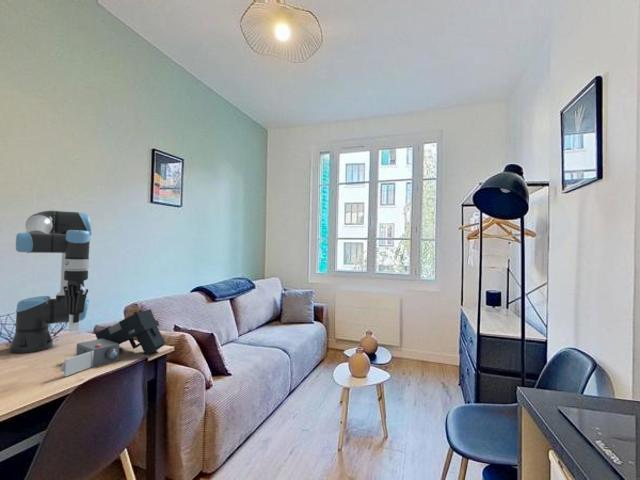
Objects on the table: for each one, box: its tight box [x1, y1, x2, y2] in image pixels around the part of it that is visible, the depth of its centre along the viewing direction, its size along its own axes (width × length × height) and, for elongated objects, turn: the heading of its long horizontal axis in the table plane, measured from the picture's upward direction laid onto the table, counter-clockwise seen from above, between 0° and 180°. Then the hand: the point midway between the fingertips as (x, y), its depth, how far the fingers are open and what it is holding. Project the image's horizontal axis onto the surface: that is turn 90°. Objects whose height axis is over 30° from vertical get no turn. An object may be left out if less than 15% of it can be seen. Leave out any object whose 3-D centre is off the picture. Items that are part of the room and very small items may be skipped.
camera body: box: [75, 338, 120, 368], centre depth 139 cm, size 16×10×8 cm, turn 59°
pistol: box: [94, 308, 166, 356], centre depth 154 cm, size 10×26×20 cm, turn 79°
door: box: [61, 350, 94, 377], centre depth 127 cm, size 11×2×6 cm, turn 164°
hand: (73, 330), depth 128 cm, fingers closed
